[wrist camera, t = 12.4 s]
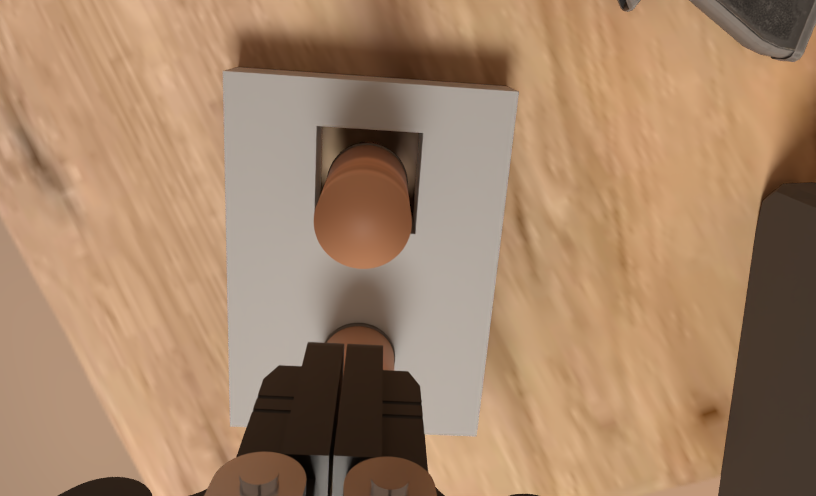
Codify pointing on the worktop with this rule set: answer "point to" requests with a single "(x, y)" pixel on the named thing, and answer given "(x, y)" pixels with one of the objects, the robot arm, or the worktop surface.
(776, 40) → the handgun
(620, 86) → the worktop surface
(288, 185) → the jig board
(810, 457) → the handheld gaming console
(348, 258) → the cherry peg
